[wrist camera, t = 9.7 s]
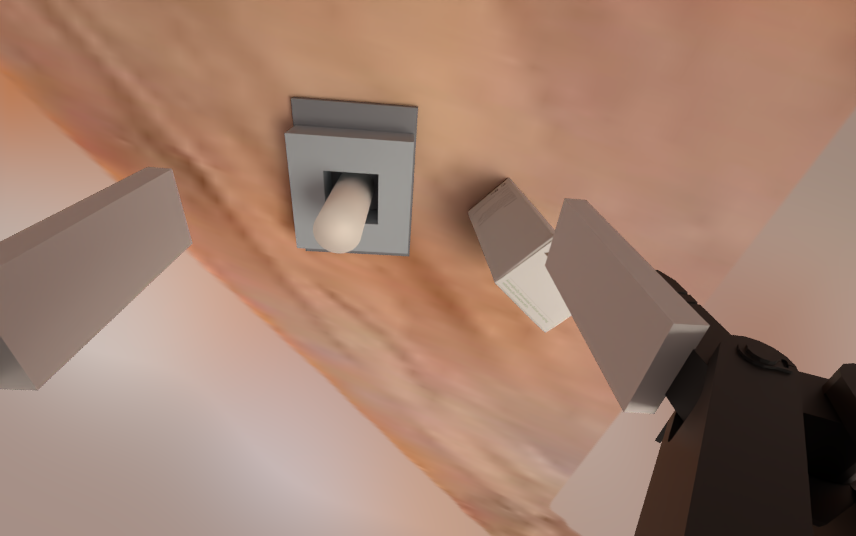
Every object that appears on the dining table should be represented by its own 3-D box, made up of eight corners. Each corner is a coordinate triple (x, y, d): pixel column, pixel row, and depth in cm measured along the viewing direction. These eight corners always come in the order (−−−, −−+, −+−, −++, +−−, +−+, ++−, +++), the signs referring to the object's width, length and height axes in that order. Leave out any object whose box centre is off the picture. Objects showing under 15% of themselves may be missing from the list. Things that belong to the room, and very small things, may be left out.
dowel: (337, 166, 41) (310, 208, 30) (374, 169, 41) (361, 211, 31) (338, 202, 43) (314, 252, 32) (374, 204, 43) (361, 254, 33)
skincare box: (466, 210, 45) (488, 281, 32) (511, 173, 43) (555, 232, 29) (507, 255, 48) (543, 337, 35) (551, 223, 46) (607, 296, 33)
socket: (293, 96, 38) (278, 103, 34) (417, 106, 39) (418, 114, 35) (307, 246, 47) (297, 267, 42) (409, 252, 48) (408, 273, 43)
